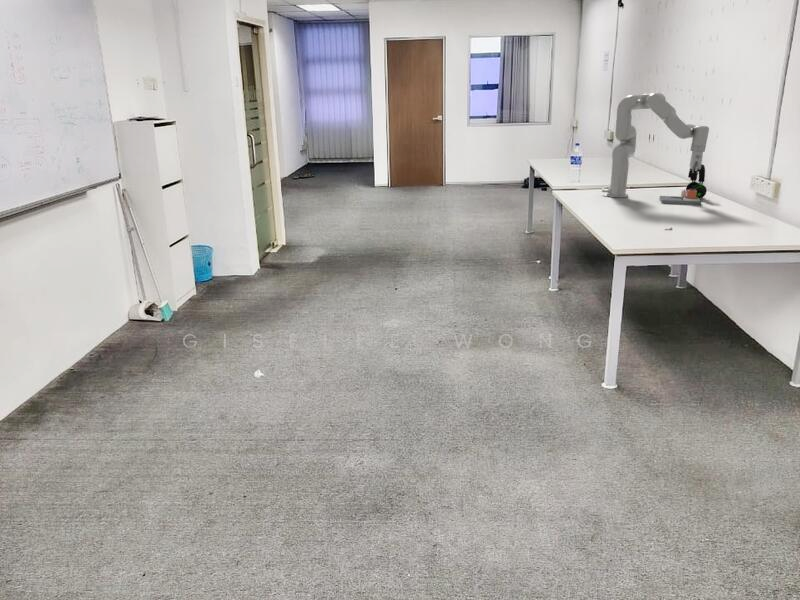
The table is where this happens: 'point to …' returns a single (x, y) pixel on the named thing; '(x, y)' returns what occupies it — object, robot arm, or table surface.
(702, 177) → the headphones
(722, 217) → the table surface
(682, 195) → the block
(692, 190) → the cap
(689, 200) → the panel
